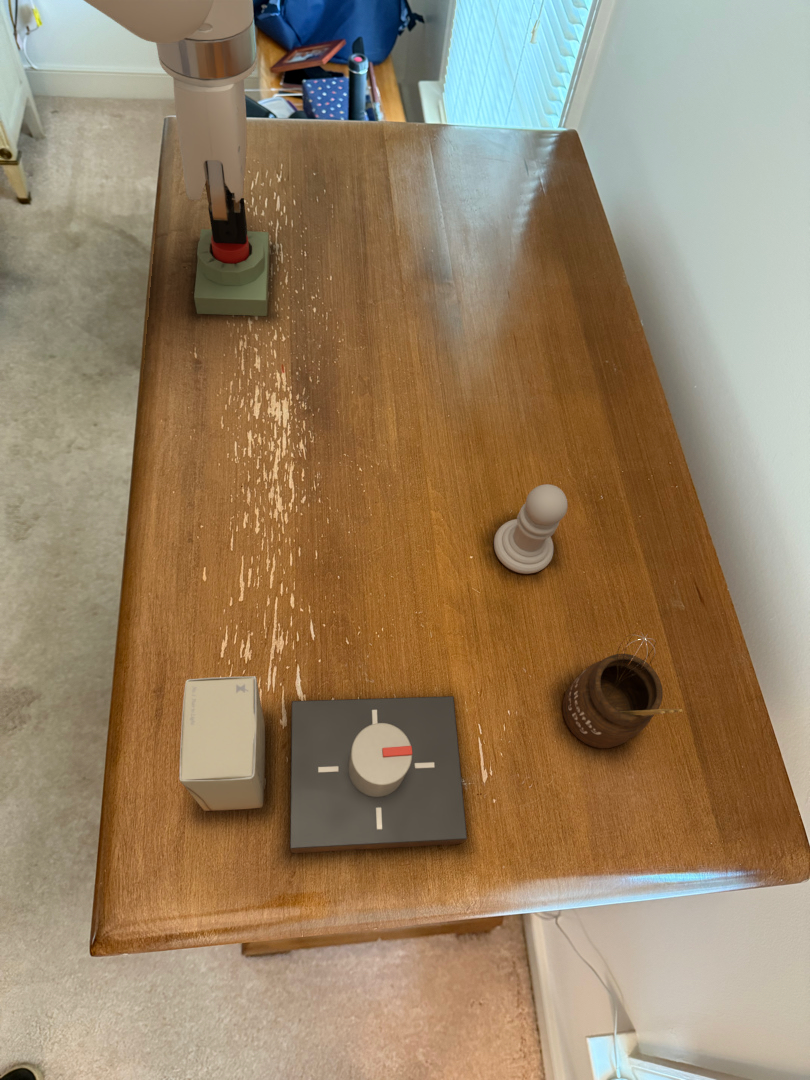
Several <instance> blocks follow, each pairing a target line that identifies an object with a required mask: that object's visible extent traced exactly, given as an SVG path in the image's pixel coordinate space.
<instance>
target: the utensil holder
mask: <svg viewBox="0 0 810 1080" xmlns="http://www.w3.org/2000/svg"><path fill="white" fill-rule="evenodd" d="M638 632H639V633H640V634H641V635H640V634H639V635H638V634H636V633H638ZM648 635H649V633H647V634H646V635H645V636H644V634H643V632H642V631H640V630H635V631H634V632H633V633H632V634H628V635H627V636H625V637H624V638H623V639H622V641H621V643H620V644H619V646H618V649H617V653H616V654H612V655H610V656H609V655H608V656H606V657H605V658H603V659H602V660H599V661H596V662H594V663H592V664H590V665H589V666H588V667H587V668H586V669H584V670H583V671H582V672H581V673H580V674H579V675H578V676H576V678H575V679H574V680H573V681H572V683H571V684H570V685H569V687H568V688H567V690H566V692H565V694H564V697H563V702H562V713H563V717H564V721H565V723H566V725H567V728H568V729H569V730H570V732H571V733H572V734H573V736H575V737H576V738H577V739H578V740H579V741H581V742H582V743H584V744H586V745H588V746H590V747H593V748H597V749H610V748H614V747H617V746H620V745H622V744H624V743H625V742H627V741H629V740H631V739H632V738H634V737H635V736H636V735H638V734H639V733H640V732H642V731H643V730H644V729H645V728H646V727H647V726H648V725H649V723H650V722H651V720H652V719H653V717H655V715H664V714H665V715H666V714H673V713H681V712H684V710H683V709H682V708H661V705H662V702H663V696H664V694H663V685H662V682H661V680H660V678H659V676H658V674H657V672H656V671H655V669H654V668H653V667H652V666H651V664H652V662H653V660H654V658H655V656H656V653H654V654H653V657H652V658H651V660H650V661H649V663H648V662H647V659H648V658H649V656H650V655H651V654H652V652H653V651H654V652H656V648H655V646H656V645H657V644H656V643H657V642H656V640H655V639H654V638H651V637H647V636H648ZM634 636H636V637H640V638H639V639H635V640H632V641H631V639H632V637H634ZM628 637H630V638H629V640H628V641H627V644H626V646H625V647H624V648H623V649H622V650H621V652H620V653H619V650H620V648H621V646H622V644H623V643H624V641H625V640H626V639H627V638H628ZM640 640H642V642H640V645H639V647H638V648H637V649H636V650H635V653H634V654H629V653H626V651H627V647H628V646H629V645H631V644H632V643H634V642H636V641H640ZM649 640H653V641H654V644H653V643H651V641H649ZM630 641H631V642H630ZM644 642H645V645H646V656H645V657H644V659H642V658H640V657H638V656H636V654H637V653H638V652H639V649H640V648H641V646H642V644H643V643H644ZM647 642H648V643H649V644H650V645H651V646H652V648H651V650H650V652H649V650H648V649H649V648H648V643H647ZM623 652H624V653H623ZM648 652H649V653H648Z"/></svg>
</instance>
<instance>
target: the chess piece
mask: <svg viewBox="0 0 810 1080" xmlns="http://www.w3.org/2000/svg"><path fill="white" fill-rule="evenodd" d="M568 506H569V504H568V499H567V496H566V494H565V492H564V491H563V490H562V489H561V488H560V487H558V486H557V485H554V484H550V483H547V484H546V483H545V484H540V485H537V486H536V487H534V488H533V489H531V490H530V491H529V493H528V494H527V496H526V499H525V503H524V504H522V506H521V508H520V510H519V512H518V514H517V517H516V518H515V519H511V520H509V521H506V522H505V523H503V524H502V525H501V526H500V527H499V528H498V529H497V531H496V533H495V535H494V538H493V548H494V553H495V555H496V557H497V559H498V560H499V562H500V563H502V565H503V566H505V567H506V568H507V569H509V570H511V571H512V572H515V573H518V574H523V575H529V574H535V573H539V572H540V571H542V570H544V569H545V568H546V567H547V566H549V564H550V563H551V561H552V559H553V556H554V548H555V547H554V542H553V539H552V536H553V535H554V534H555V532H556V530H557V529H558V527H559V525H560V522H561V520H563V519H564V518H565V517H566V515H567V512H568V508H569V507H568Z"/></svg>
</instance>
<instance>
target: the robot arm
mask: <svg viewBox="0 0 810 1080" xmlns="http://www.w3.org/2000/svg"><path fill="white" fill-rule="evenodd" d="M83 1H84V2H85V3H87V4H88V5H90V6H91V7H93V8H94V9H96V10H97V11H99V12H100V13H102V14H103V15H105V16H106V17H108V18H109V19H111V20H113V21H114V22H115V23H116V24H118V25H120V26H121V27H122V28H124V29H125V30H126V31H128V32H130V33H131V34H133V35H134V36H136V37H138V38H140V39H141V40H144V41H146V42H149V43H150V42H151V43H155V46H156V50H157V57H158V61H159V64H160V66H161V68H162V70H163V71H164V72H165V73H166V74H167V75H169V76H170V77H171V78H172V80H173V81H172V82H173V99H174V109H175V119H176V128H177V135H178V143H179V151H180V157H181V164H182V165H181V166H182V173H183V181H184V188H185V194H186V197H187V198H188V199H189V200H190V201H201V199H202V196H203V194H204V190H205V191H206V198H207V203H208V207H207V209H208V214H209V215H208V216H209V221H210V229H212V235H213V241H214V242H215V243H230V244H245V243H246V241H247V231H248V223H247V215H246V204H245V198H244V187H245V175H246V163H247V148H248V147H247V146H248V145H247V141H248V126H247V125H248V124H247V122H248V121H247V104H246V92H245V91H246V90H245V79H247V78H248V77H250V76H251V75H252V73H253V72H254V71H255V70H256V67H257V64H258V59H257V44H256V43H257V42H256V31H255V30H256V29H255V28H256V27H255V16H254V15H255V13H254V2H253V1H254V0H83Z"/></svg>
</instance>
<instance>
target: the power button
mask: <svg viewBox="0 0 810 1080" xmlns="http://www.w3.org/2000/svg"><path fill="white" fill-rule="evenodd" d="M211 243H212V250H213V255H214V258H215V259H216V260H218V261H220V262H222V263H225V264H237V263H240V262H242V261H245V260H247V259H248V257H249V254H250V253H249V242H248V236H247V241H246V243H245V244H230V243H215V242H214V241H213V235H212V236H211Z"/></svg>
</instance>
